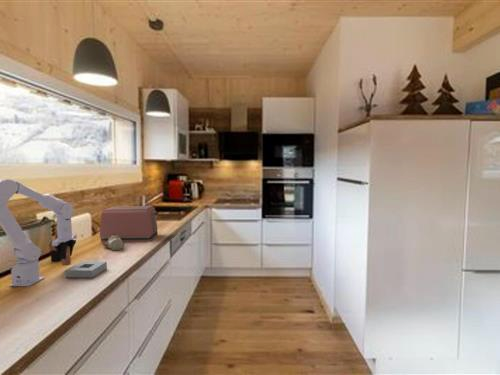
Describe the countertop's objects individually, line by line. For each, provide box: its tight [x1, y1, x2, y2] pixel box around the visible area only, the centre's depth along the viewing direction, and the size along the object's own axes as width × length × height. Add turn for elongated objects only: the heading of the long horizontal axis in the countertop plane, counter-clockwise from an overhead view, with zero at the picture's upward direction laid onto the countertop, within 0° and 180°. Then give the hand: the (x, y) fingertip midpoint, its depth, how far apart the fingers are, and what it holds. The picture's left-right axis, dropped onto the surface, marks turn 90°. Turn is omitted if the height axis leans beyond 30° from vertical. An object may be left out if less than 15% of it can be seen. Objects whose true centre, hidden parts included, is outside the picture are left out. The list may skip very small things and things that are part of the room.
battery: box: [49, 242, 62, 262], centre depth 162 cm, size 4×7×10 cm, turn 0°
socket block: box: [64, 261, 108, 280], centre depth 140 cm, size 12×12×4 cm
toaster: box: [99, 205, 158, 244], centre depth 204 cm, size 19×34×20 cm, turn 92°
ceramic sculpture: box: [102, 234, 125, 251], centre depth 182 cm, size 11×9×15 cm
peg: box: [61, 246, 72, 266], centre depth 145 cm, size 4×4×8 cm
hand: (66, 257), depth 145 cm, fingers closed on peg, 3 cm apart
